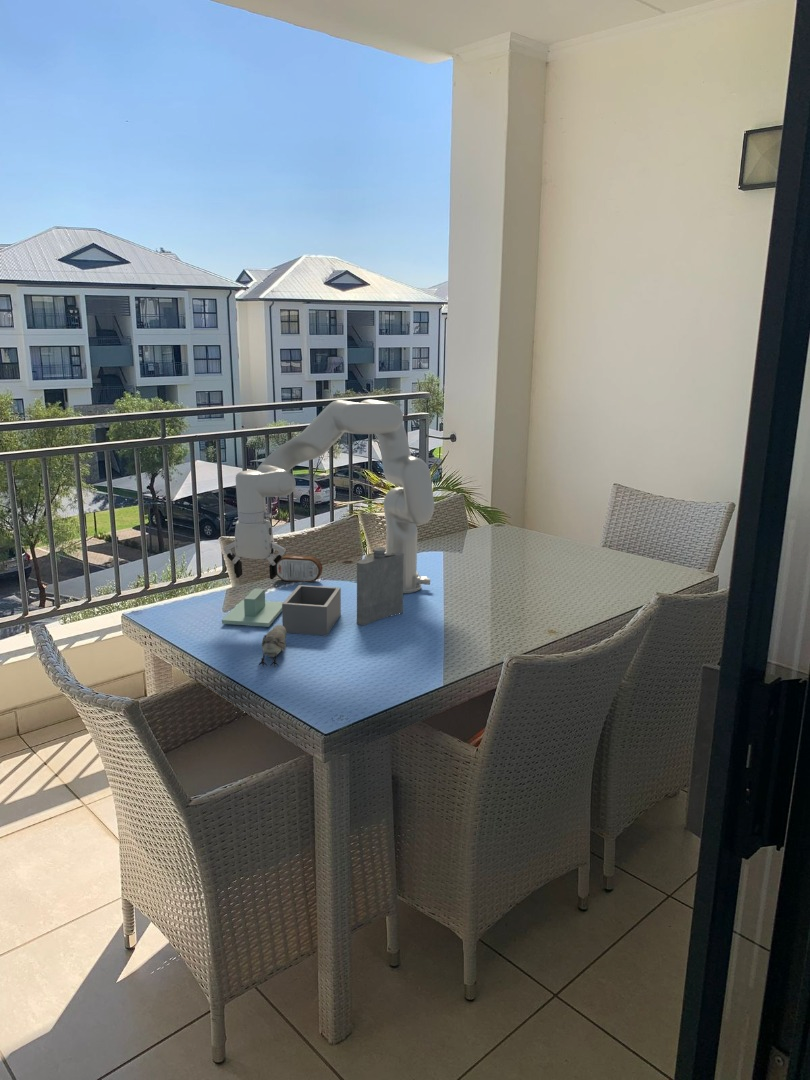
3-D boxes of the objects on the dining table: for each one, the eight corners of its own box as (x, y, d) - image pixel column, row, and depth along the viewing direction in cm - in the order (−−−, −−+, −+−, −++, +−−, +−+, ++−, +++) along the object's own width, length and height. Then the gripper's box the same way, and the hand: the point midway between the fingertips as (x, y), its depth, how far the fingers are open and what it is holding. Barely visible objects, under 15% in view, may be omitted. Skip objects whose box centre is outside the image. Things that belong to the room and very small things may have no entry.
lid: (286, 608, 226) (286, 585, 225) (268, 630, 210) (268, 605, 208) (242, 605, 228) (242, 582, 226) (222, 627, 212) (221, 602, 210)
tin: (322, 580, 251) (322, 555, 249) (320, 583, 248) (320, 558, 246) (276, 578, 252) (275, 553, 250) (274, 581, 249) (273, 556, 247)
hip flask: (361, 626, 213) (362, 555, 208) (352, 621, 216) (352, 552, 211) (404, 613, 224) (406, 545, 219) (395, 609, 227) (396, 542, 222)
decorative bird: (292, 643, 202) (291, 616, 200) (279, 669, 186) (278, 640, 184) (271, 642, 202) (270, 615, 200) (256, 669, 186) (255, 639, 184)
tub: (340, 614, 222) (340, 587, 220) (326, 635, 206) (326, 606, 204) (299, 611, 223) (298, 584, 221) (282, 632, 208) (282, 603, 206)
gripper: (287, 514, 214) (290, 574, 219) (226, 512, 217) (230, 571, 221) (279, 521, 207) (282, 582, 212) (216, 519, 209) (221, 580, 214)
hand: (256, 577), depth 217 cm, fingers open, 9 cm apart
